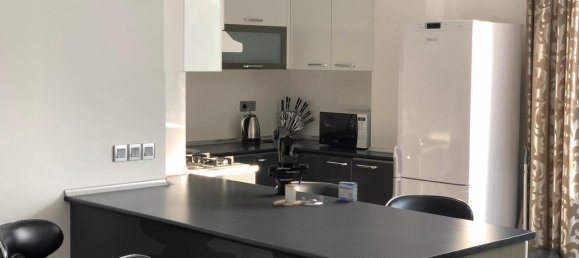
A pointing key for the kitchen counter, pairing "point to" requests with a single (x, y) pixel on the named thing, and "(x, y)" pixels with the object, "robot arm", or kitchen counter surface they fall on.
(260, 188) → the kitchen counter surface
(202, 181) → the kitchen counter surface
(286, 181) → the robot arm
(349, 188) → the medicine box
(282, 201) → the board
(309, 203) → the clear glass bowl
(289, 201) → the whitish cup
